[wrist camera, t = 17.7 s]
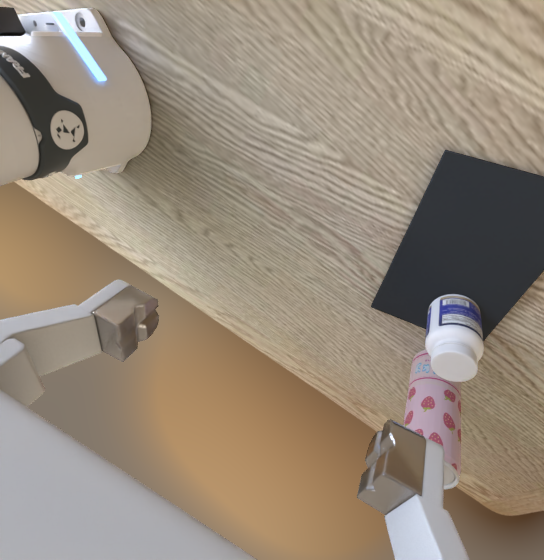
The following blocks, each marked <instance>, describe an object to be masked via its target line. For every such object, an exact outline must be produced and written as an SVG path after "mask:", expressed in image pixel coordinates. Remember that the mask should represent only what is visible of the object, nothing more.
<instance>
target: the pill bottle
mask: <svg viewBox="0 0 544 560" xmlns="http://www.w3.org/2000/svg"><path fill="white" fill-rule="evenodd" d="M425 346H426V350H427V352H428V354H429V355H430V356H431V367H432V370H433V371H434V372H435V373H436V374H437V375H438V376H439V377H441V378H443V379H446V380H449V381H454V382H463V381H467V380H470V379H472V378H473V377H474V376H475V375H476V374H477V371H478V361H479V360H480V358H481V357H482V355H483V352H484V343H483V334H482V323H481V314H480V309H479V307H478V305H477V304H476V303H475V302H474V301H473V300H471V299H470V298H468V297H466V296H463V295H458V294H448V295H444V296H441V297H438V298H437V299H435V300H434V301H433V302H432V303H431V304H430V306H429V310H428V317H427V328H426V338H425Z"/></svg>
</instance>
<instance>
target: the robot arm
mask: <svg viewBox="0 0 544 560" xmlns="http://www.w3.org/2000/svg"><path fill="white" fill-rule="evenodd" d="M150 133H151V109H150V104H149V99H148V96H147V92H146V89H145V86H144V84H143V82H142V79H141V77H140V75H139V73H138V71H137V70H136V68H135V66H134V65H133V63H132V61H131V60H130V59H129V57H128V56H127V55H126V53H125V52H124V51H123V50H122V49H121V48H120V47H119V45H118V44H117V43H116V42H115V40H114V39H113V38H112V36H111V34H110V32H109V30H108V27H107V25H106V23H105V22H104V20H103V18H102V16H101V15H100V13H99V12H98V11H97V10H96V9H94V8H82V9H71V10H61V11H51V12H41V13H31V14H21V15H17V14H16V12H15V10H14V8H9V7H0V186H2V185H5V184H8V183H10V182H14V181H17V180H20V179H23V180H34V179H37V178H45V177H48V176H51V175H53V174H54V173H57V172H62V173H64V174H67V176H71V177H74V176H75V178H76V179H78V178H81V175H82V174H86V173H90V172H94V171H98V170H102V169H106V170H108V171H110V172H111V173H114V174H116V173H120V172H122V171H123V170H124V168H125V167H126V165H127V162H128V161H129V160H130V159H132V158H134V157H136V156H138V155H139V154H140V153H141V152H142V151H143V150H144V149H145V147H146V146H147V143H148V141H149V138H150ZM157 307H158V300H157V299H156V298H154V297H152V296H150V295H148V294H147V293H145V292H143V291H141V290H139V289H137V288H135V287H133V286H132V285H130V284H128V283H126V282H124V281H122V280H120V279H119V280H115V281H113V282H112V283H110V284H109V285H107V286H106V287H105V288H103V289H102V290H100V291H99V292H97V293H96V294H94V295H93V296H92V297H90V298H89V299H87V300H86V301H84V302H83V303H81V304H80V305H79V306H77V305H75V304H73V305H68V306H63V307H59V308H54V309H49V310H45V311H40V312H36V313H30V314H26V315H21V316H16V317H12V318H7V319H2V320H0V560H257V559H256V558H254V557H253V556H251V555H250V554H248V553H246V552H245V551H244V550H242V549H240V548H239V547H238V546H236V545H234V544H233V543H232V542H230V541H229V540H227V539H226V538H224V537H222V536H221V535H219V534H218V533H216V532H215V531H213V530H212V529H210V528H209V527H207V526H206V525H204V524H203V523H201V522H200V521H198V520H197V519H195V518H194V517H192V516H191V515H189V514H188V513H186V512H185V511H183V510H182V509H180V508H179V507H177V506H176V505H174V504H173V503H171V502H169V501H168V500H166V499H165V498H164V497H162V496H161V495H159V494H157V493H156V492H154V491H153V490H151V489H150V488H148V487H147V486H145V485H144V484H142V483H141V482H139V481H138V480H136V479H135V478H133V477H132V476H130V475H129V474H127V473H126V472H124V471H123V470H121V469H120V468H118V467H117V466H115V465H114V464H112V463H111V462H109V461H108V460H106V459H105V458H103V457H101V456H100V455H98V454H97V453H96V452H94V451H92V450H91V449H89V448H88V447H86V446H85V445H83V444H82V443H80V442H79V441H77V440H76V439H74V438H73V437H71V436H70V435H68V434H67V433H65V432H64V431H62V430H61V429H59V428H58V427H56V426H55V425H53V424H52V423H50V422H49V421H47V420H46V419H44V418H42V417H41V416H40V415H38V414H36V413H35V412H33V411H32V410H31V409H29V408H28V406H29V405H30V404H31V403H33V402H34V401H35V400H36V399H37V398H38V397H39V396H41V395H42V394H43V393H44V390H45V387H44V386H43V383H42V381H41V379H40V376H42V375H45V374H48V373H50V372H53V371H56V370H58V369H61V368H63V367H66V366H68V365H71V364H74V363H76V362H79V361H81V360H84V359H87V358H89V357H92V356H94V355H97V354H99V353H102V351H103V352H105V353H107V354H109V355H111V356H112V357H115V358H116V359H118V360H120V361H122V362H124V361H125V360H126V359H127V358H128V357H129V356H130V355H131V354H132V353H133V352H134V351H135V350H136V349H137V347H138V342H139V341H143V340H146V339H148V338H149V337H150V336H151V335H152V334H153V332H154V330H155V329H156V327H157V325H158V321H159V315H158V313H157V312H156V310H155V309H156V308H157ZM444 456H445V451H444V448H443V446H442V445H440V444H438V443H436V442H434V441H432V440H430V439H428V438H426V437H424V436H423V435H421V434H419V433H417V432H415V431H413V430H411V429H409V428H407V427H405V426H403V425H401V424H399V423H397V422H395V421H393V420H391V419H390V420H387V422H386V423H385V424H384V427H383V431H378V432H377V433H376V434H375V435H374V437H373V438H372V440H371V442H370V444H369V447H368V450H367V455H366V458H365V461H366V464H367V466H368V469H367V470H366V471H365V472H364V473H363V474H362V476H361V481H360V485H359V490H358V495H357V498H358V499H360V500H362V501H363V502H365V503H367V504H368V505H370V506H371V507H373V508H375V509H376V510H378V511H380V512H381V513H383V514H385V516H384V517H385V521H386V525H387V529H388V533H389V537H390V541H391V545H392V549H393V553H394V557H395V560H470V559H469V557H468V554H467V552H466V550H465V548H464V546H463V543H462V541H461V539H460V536H459V534H458V532H457V530H456V527H455V525H454V523H453V521H452V519H451V516H450V514H449V512H448V511H446V510H445V509H443V492H444Z"/></svg>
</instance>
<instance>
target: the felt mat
mask: <svg viewBox="0 0 544 560" xmlns="http://www.w3.org/2000/svg"><path fill="white" fill-rule="evenodd" d="M543 271H544V177H543V176H539V175H536V174H532V173H529V172H525V171H521V170H518V169H514V168H510V167H507V166H503V165H499V164H496V163H492V162H488V161H485V160H481V159H477V158H474V157H470V156H466V155H463V154H459V153H455V152H452V151H448V150H445V152H444V154H443V156H442V158H441V160H440V162H439V164H438V166H437V169H436V171H435V173H434V175H433V177H432V179H431V181H430V183H429V185H428V187H427V190H426V192H425V194H424V196H423V198H422V200H421V202H420V204H419V206H418V209H417V211H416V213H415V215H414V217H413V219H412V221H411V223H410V225H409V227H408V230H407V232H406V234H405V236H404V238H403V240H402V242H401V244H400V246H399V249H398V251H397V253H396V255H395V257H394V259H393V261H392V263H391V265H390V267H389V270H388V272H387V274H386V276H385V278H384V280H383V282H382V284H381V286H380V289H379V291H378V293H377V295H376V297H375V299H374V301H373V303H372V305H371V307H372V308H375V309H377V310H380V311H382V312H385V313H387V314H390V315H392V316H395V317H397V318H400V319H402V320H405V321H407V322H410V323H412V324H415V325H417V326H419V327H422V328H424V329H426V328H427V317H428V310H429V306H430V304H431V303H432V302H433V301H434V300H435V299H437V298H438V297H441V296H444V295H448V294H458V295H463V296H466V297H468V298H470V299H471V300H473V301H474V302H475V303H476V304H477V305H478V307H479V309H480V314H481V323H482V334H483V341H484V340H485V339H486V337H487V336H488V335H489V334H490V333H491V332H492V330H493V329H494V328H495V327H496V326H497V324H498V323H499V322H500V321H501V320H502V319H503V317H504V316H505V315H506V314H507V313H508V312H509V310H510V309H511V308H512V307H513V306H514V305H515V303H516V302H517V301H518V300H519V299H520V298H521V296H522V295H523V294H524V293H525V292H526V291H527V289H528V288H529V287H530V286H531V285H532V284H533V282H534V281H535V280H536V279H537V278H538V277H539V275H540V274H541V273H542V272H543Z"/></svg>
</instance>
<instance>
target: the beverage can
mask: <svg viewBox="0 0 544 560" xmlns="http://www.w3.org/2000/svg"><path fill="white" fill-rule="evenodd" d="M403 426H405V427H407V428H409V429H411V430H413V431H415V432H417V433H419V434H421V435H423V436H424V437H426V438H428V439H430V440H432V441H434V442H436V443H438V444H440V445H442V446H443V448H444V451H445V456H444V489H450V488H453V487H455V486H456V485H457V484H458V482H459V476H460V474H461V382H454V381H449V380H446V379H443V378H441V377H439V376H438V375H437V374H436V373H435V372H434V371H433V370H432V367H431V356H430V355H429V354H428V352H427V350H423V351H420V352H418V353H417V354H416V355H415V356H414V357H413V360H412V367H411V375H410V382H409V389H408V396H407V404H406V411H405V418H404V425H403Z"/></svg>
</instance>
